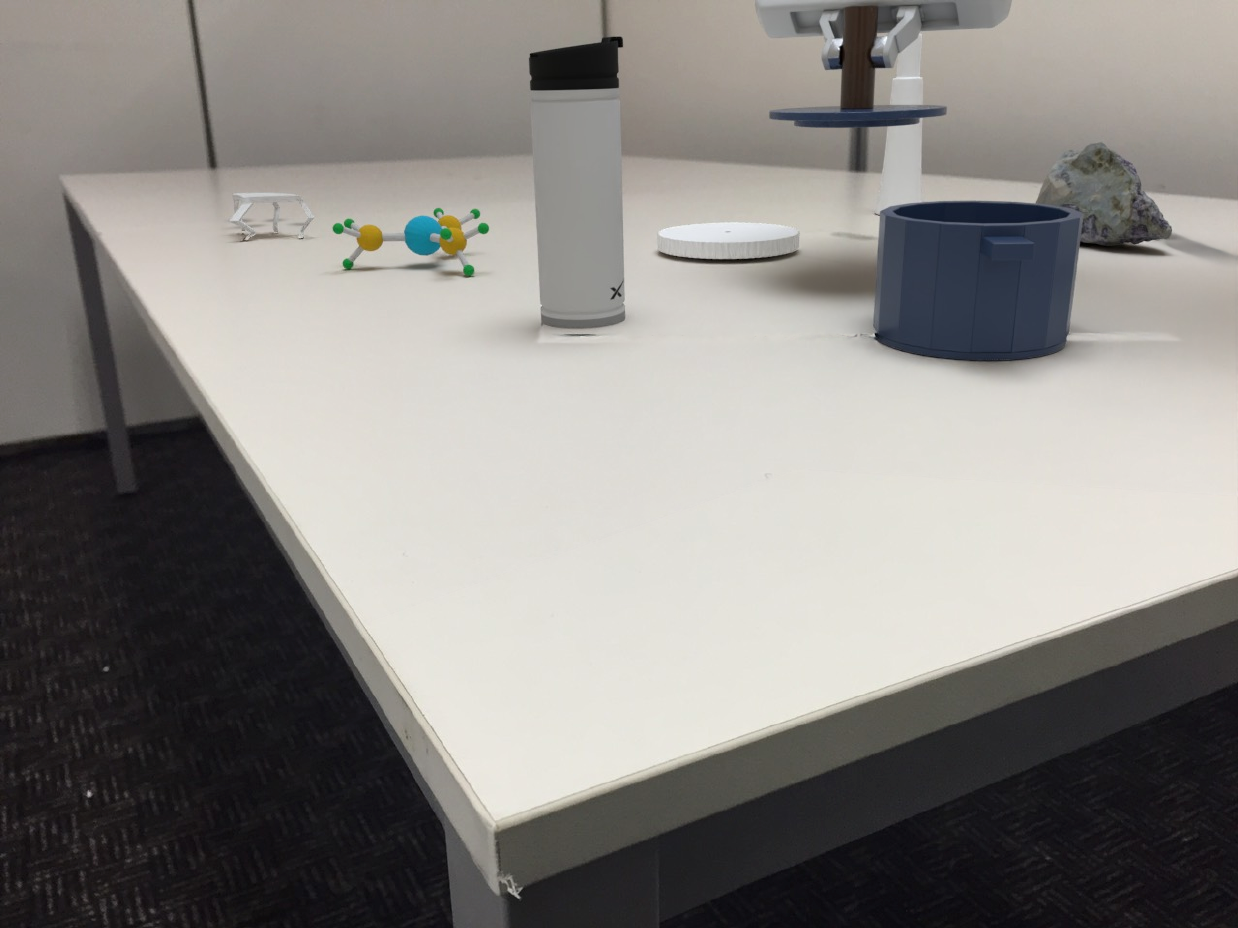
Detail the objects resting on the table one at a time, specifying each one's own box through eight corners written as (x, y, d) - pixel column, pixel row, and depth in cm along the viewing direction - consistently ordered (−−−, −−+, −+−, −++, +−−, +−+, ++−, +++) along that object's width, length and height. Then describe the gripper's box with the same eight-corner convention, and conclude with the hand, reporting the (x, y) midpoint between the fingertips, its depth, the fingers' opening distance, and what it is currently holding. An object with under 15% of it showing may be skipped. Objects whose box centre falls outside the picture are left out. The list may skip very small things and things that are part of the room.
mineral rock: (1174, 255, 102) (1192, 146, 99) (1059, 256, 103) (1072, 148, 99) (1124, 235, 114) (1137, 137, 111) (1021, 237, 115) (1031, 139, 112)
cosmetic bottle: (934, 213, 134) (948, 24, 126) (898, 218, 131) (910, 24, 124) (899, 209, 139) (911, 26, 131) (864, 213, 136) (874, 26, 128)
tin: (1025, 309, 82) (1038, 195, 79) (1107, 371, 65) (1127, 230, 62) (858, 310, 83) (864, 197, 80) (896, 372, 66) (905, 232, 63)
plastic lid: (644, 268, 102) (643, 241, 101) (672, 245, 115) (672, 221, 114) (792, 271, 99) (792, 243, 98) (804, 247, 112) (805, 223, 111)
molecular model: (322, 268, 106) (395, 288, 95) (316, 218, 105) (389, 233, 94) (463, 249, 116) (544, 265, 105) (460, 203, 114) (542, 214, 103)
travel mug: (642, 329, 78) (637, 35, 71) (556, 339, 76) (543, 36, 69) (611, 313, 84) (604, 38, 77) (530, 322, 81) (515, 39, 75)
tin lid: (928, 118, 91) (935, 7, 88) (963, 126, 79) (973, -3, 76) (765, 123, 93) (766, 14, 90) (773, 131, 80) (776, 4, 77)
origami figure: (208, 242, 125) (202, 199, 123) (241, 232, 133) (235, 191, 131) (306, 242, 124) (301, 198, 122) (333, 232, 131) (329, 190, 130)
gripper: (773, -85, 91) (723, 38, 86) (1026, -112, 81) (984, 25, 76) (792, -25, 96) (745, 95, 91) (1032, -43, 86) (993, 90, 81)
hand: (856, 63), depth 84 cm, fingers closed on tin lid, 2 cm apart
